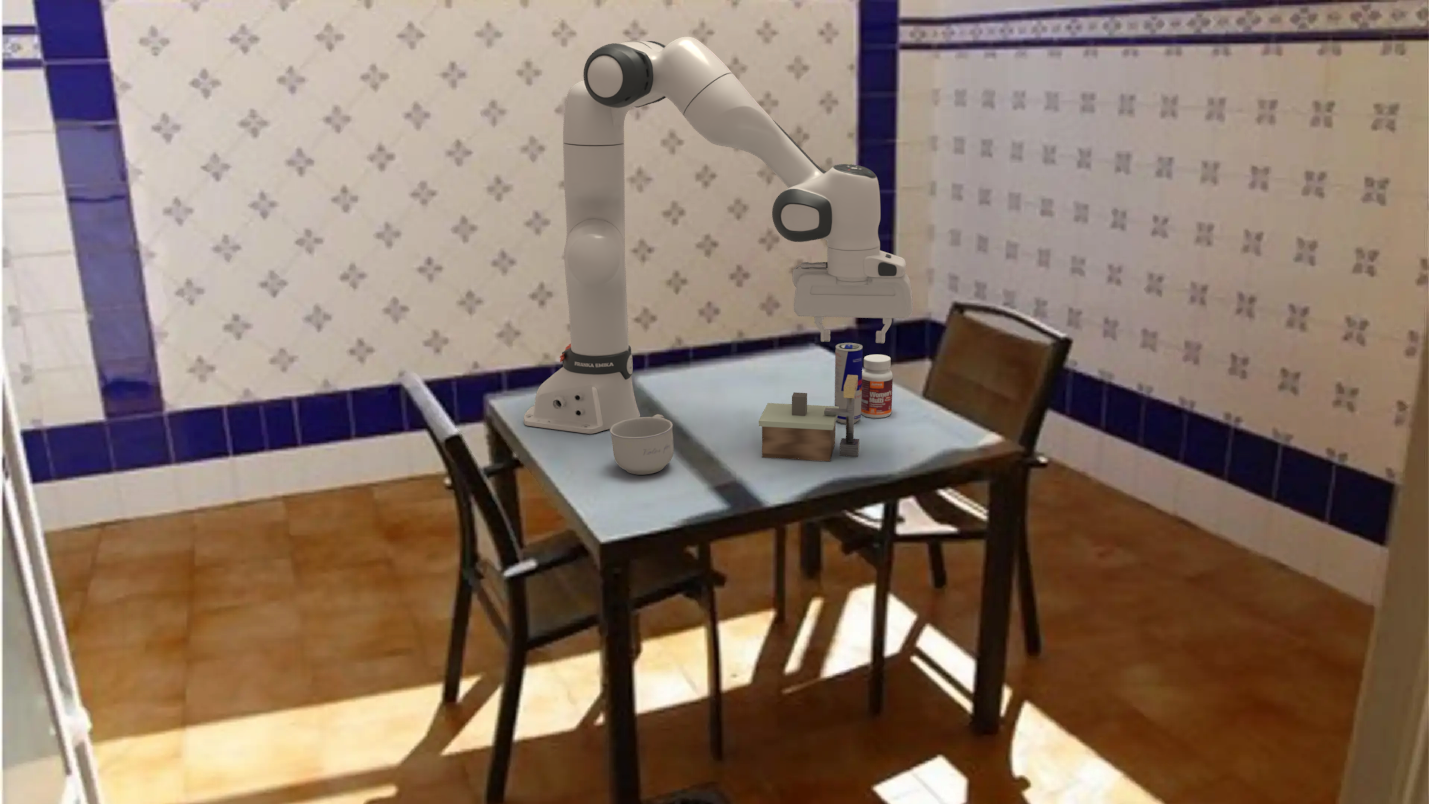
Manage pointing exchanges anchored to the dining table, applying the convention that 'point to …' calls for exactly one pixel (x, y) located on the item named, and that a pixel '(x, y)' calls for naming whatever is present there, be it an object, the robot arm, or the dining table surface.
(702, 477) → the dining table surface
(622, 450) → the teacup
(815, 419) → the lid
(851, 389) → the key
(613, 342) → the robot arm
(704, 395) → the dining table surface
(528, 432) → the dining table surface
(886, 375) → the pill bottle
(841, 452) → the key socket
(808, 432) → the box
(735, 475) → the dining table surface
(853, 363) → the beverage can
